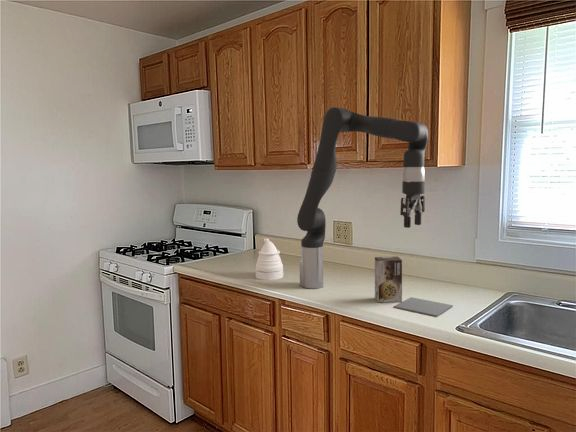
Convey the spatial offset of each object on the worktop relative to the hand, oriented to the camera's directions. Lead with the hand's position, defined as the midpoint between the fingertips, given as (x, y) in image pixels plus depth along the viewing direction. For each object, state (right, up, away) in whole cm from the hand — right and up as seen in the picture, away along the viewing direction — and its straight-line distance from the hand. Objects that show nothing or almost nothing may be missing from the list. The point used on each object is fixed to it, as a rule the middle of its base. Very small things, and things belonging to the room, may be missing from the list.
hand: (412, 226), depth 156 cm
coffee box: (-6, -28, +11) cm, 31 cm away
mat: (+4, -29, +2) cm, 30 cm away
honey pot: (-53, -25, +50) cm, 77 cm away
